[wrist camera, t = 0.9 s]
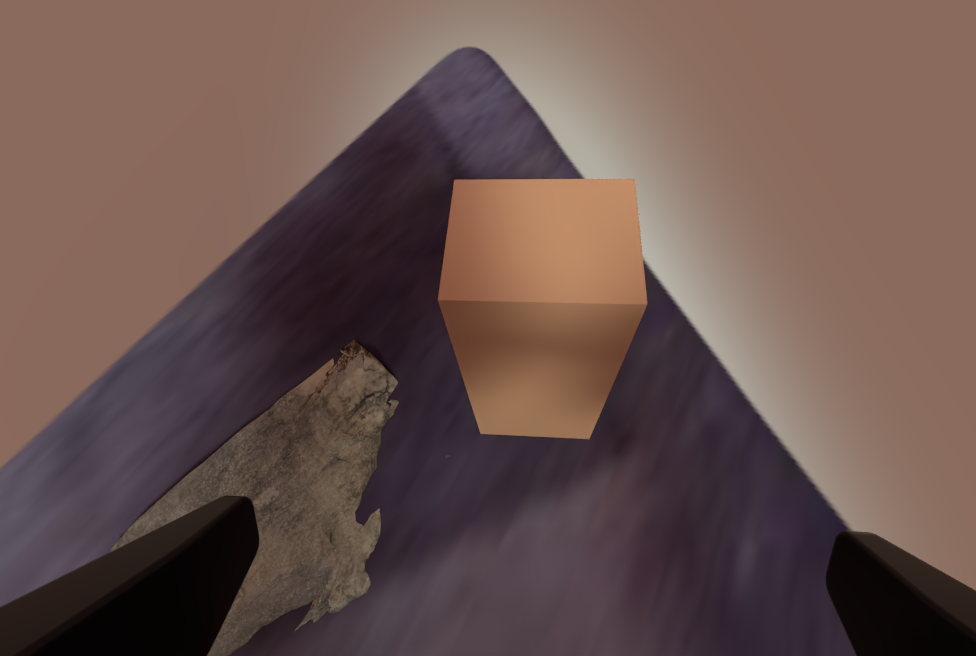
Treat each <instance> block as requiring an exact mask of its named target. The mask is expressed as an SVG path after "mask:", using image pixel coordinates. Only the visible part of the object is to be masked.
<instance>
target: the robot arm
mask: <svg viewBox="0 0 976 656" xmlns="http://www.w3.org/2000/svg"><path fill="white" fill-rule="evenodd" d="M259 540H260V538H259V531H258V526H257V521H256V516H255V510H254V505H253V502H252V500H251V499H250V498H248V497H246V496H231V495H226V496H222V497H220V498H218V499H216V500H214V501H212V502H210V503H208V504H206V505H204V506H202V507H200V508H198V509H196V510H194V511H192V512H190V513H188V514H186V515H184V516H182V517H180V518H178V519H176V520H174V521H172V522H170V523H168V524H166V525H164V526H162V527H160V528H158V529H156V530H154V531H152V532H150V533H148V534H146V535H144V536H141V537H139V538H137V539H135V540H133V541H131V542H129V543H127V544H125V545H123V546H121V547H119V548H117V549H115V550H113V551H111V552H109V553H107V554H105V555H103V556H101V557H99V558H97V559H95V560H93V561H91V562H89V563H87V564H85V565H83V566H81V567H79V568H77V569H75V570H73V571H71V572H69V573H67V574H65V575H63V576H61V577H59V578H57V579H55V580H53V581H51V582H49V583H47V584H45V585H43V586H41V587H39V588H37V589H35V590H33V591H31V592H29V593H27V594H25V595H23V596H21V597H19V598H17V599H15V600H13V601H11V602H9V603H7V604H5V605H3V606H1V607H0V656H207V655H208V653H209V651H210V650H211V648H212V646H213V644H214V642H215V640H216V638H217V636H218V634H219V632H220V630H221V628H222V626H223V623H224V621H225V619H226V617H227V615H228V613H229V611H230V609H231V607H232V605H233V602H234V600H235V598H236V596H237V594H238V592H239V590H240V588H241V586H242V584H243V581H244V579H245V577H246V575H247V573H248V571H249V569H250V567H251V565H252V563H253V560H254V558H255V556H256V554H257V551H258V548H259ZM826 586H827V590H828V593H829V596H830V598H831V600H832V602H833V604H834V607H835V609H836V611H837V613H838V615H839V618H840V620H841V622H842V624H843V627H844V629H845V631H846V633H847V635H848V638H849V640H850V642H851V644H852V646H853V649H854V651H855V653H856V655H857V656H976V591H975V590H973V589H972V588H970V587H968V586H966V585H965V584H963V583H961V582H959V581H958V580H956V579H954V578H952V577H951V576H949V575H947V574H945V573H943V572H942V571H940V570H938V569H936V568H935V567H933V566H931V565H929V564H927V563H926V562H924V561H922V560H920V559H918V558H917V557H915V556H913V555H911V554H910V553H908V552H906V551H904V550H903V549H901V548H899V547H897V546H895V545H894V544H892V543H890V542H888V541H887V540H885V539H883V538H881V537H880V536H878V535H876V534H873V533H869V532H854V531H843V532H840V533H839V534H838V535H837V536H836V539H835V542H834V546H833V549H832V553H831V557H830V561H829V565H828V568H827V572H826Z"/></svg>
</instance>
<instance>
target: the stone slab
mask: <svg viewBox="0 0 976 656" xmlns="http://www.w3.org/2000/svg"><path fill="white" fill-rule="evenodd" d="M349 346H350V349H348V350H347V351H346V350H345V349H346V347H349ZM346 347H344V348H343V349H341V350H340V351H341V353H343V355H342V356H341V357H340V358H339V360H338V362H337V364H336V365H335V366H334V367H333V365H334V360H333V359H331V360H330V361H329V362H327V363H326V364H325V365H324V366H323V367H321V368H320V369H319V370H318V371H316V372H315V373H314V374H313V375H311V376H310V377H309V378H308V379H306V380H305V381H304V382H302V383H301V384H299V385H298V386H296V387H295V388H293V389H292V390H291V391H289V392H288V393H286V394H285V395H284V396H283V397H282V398H280V399H279V400H278V401H277V402H276V403H275V404H274V405H273V406H272V407H271V408H270V409H269V410H267V411H266V412H265V413H263V414H262V415H261V416H260V417H258V418H257V419H255V420H254V421H252V422H251V423H250V424H248V425H247V426H246V427H244V428H243V429H242V430H241V431H239V432H238V433H237V434H236V435H234V436H233V437H232V438H231V439H230V440H229V441H227V442H226V443H225V444H224V445H223V446H222V447H221V448H219V449H218V450H217V451H216V452H215V453H214V454H212V455H211V456H210V457H209V458H208V459H207V460H205V461H204V462H203V463H202V464H201V465H199V466H198V467H197V468H196V469H194V470H193V471H192V472H190V473H189V474H188V475H187V476H185V477H184V478H183V479H182V480H181V481H180V482H179V483H178V484H176V485H175V486H174V487H173V488H172V489H171V490H170V491H169V492H167V493H166V494H165V495H164V496H163V497H162V498H161V499H160V500H159V501H158V502H156V503H155V504H154V505H153V506H152V507H151V508H150V509H149V510H148V511H146V512H145V513H144V514H143V515H142V516H141V517H140V518H139V519H138V520H137V521H136V522H135V523H134V524H133V525H132V526H131V527H130V528H129V529H128V530H127V531H126V532H125V533H124V535H123V536H122V537H121V538H120V540H119V541H118V542H116V543H115V544H114V545H113V546H112V548H111V550H110V552H111V551H113V550H115V549H117V548H119V547H121V546H123V545H125V544H127V543H129V542H131V541H133V540H135V539H137V538H139V537H141V536H144V535H146V534H148V533H150V532H152V531H154V530H156V529H158V528H160V527H162V526H164V525H166V524H168V523H170V522H172V521H174V520H176V519H178V518H180V517H182V516H184V515H186V514H188V513H190V512H192V511H194V510H196V509H198V508H200V507H202V506H204V505H206V504H208V503H210V502H212V501H214V500H216V499H218V498H220V497H222V496H226V495H231V496H246V497H248V498H250V499H251V500H252V502H253V505H254V510H255V516H256V521H257V526H258V531H259V538H260V540H259V548H258V551H257V554H256V556H255V558H254V560H253V563H252V565H251V567H250V569H249V571H248V573H247V575H246V577H245V579H244V581H243V584H242V586H241V588H240V590H239V592H238V594H237V596H236V598H235V600H234V602H233V605H232V607H231V609H230V611H229V613H228V615H227V617H226V619H225V621H224V623H223V626H222V628H221V630H220V632H219V634H218V636H217V638H216V640H215V642H214V644H213V646H212V648H211V650H210V651H209V653H208V655H207V656H229V655H230V654H231V653H232V652H233V651H235V650H236V649H238V648H239V647H241V646H242V645H244V644H245V643H247V642H248V641H249V640H250V638H251V637H252V636H253V635H254V634H255V633H256V632H257V631H258V630H259V629H260V628H261V627H262V626H265V625H268V624H269V623H271V622H273V621H274V620H275V619H277V618H278V617H280V616H282V615H283V614H285V613H287V612H289V611H291V610H294V609H297V608H299V607H301V606H304V605H307V604H309V603H310V602H311V601H313V603H312V605H311V608H310V610H309V611H308V613H307V614H306V616H305V617H304V619H303V620H302V622H301V623H300V624H299V625H298V627H297V628H296V629H295V631H296V630H297V629H298V628H299V627H300V626H302V625H304V624H306V623H307V622H308V621H309V619H311V620H313V623H314V622H316V621H317V620H318V619H320V618H321V617H322V616H323V615H324V614H325V613H326V611H328V612H329V613H330V614H333V613H336V612H338V611H339V610H341V609H342V608H343V607H345V606H346V605H347V604H348V603H349V602H350V601H351V600H353V599H356V598H358V597H359V596H361V595H363V594H364V593H366V592H367V590H368V588H369V586H370V579H369V576H368V574H367V573H366V572H365V570H364V568H365V562H366V560H367V559H368V558H369V555H370V553H371V552H373V551H374V548H375V545H376V543H377V541H378V538H379V535H380V528H381V520H380V519H381V515H380V512H379V510H380V509H378V510H377V511H375V512H374V513H373V514H372V515H371V516H370V517H369V519H368V521H367V522H366V524H365V525H364V526H363V525H361V524H358V523H357V522H355V520H356V517H355V511H356V509H357V508H358V506H359V504H360V501H361V496H362V492H363V491H364V490H365V488H366V485H367V483H368V481H369V478H370V476H371V475H372V473H373V472H374V470H375V469H376V468H377V465H378V464H377V462H376V461H377V452H378V449H379V446H380V443H381V430H382V428H383V426H384V425H385V423H386V421H387V419H389V418H390V417H391V416H392V415H393V414H394V412H395V410H396V408H397V405H398V403H399V402H398V401H396V400H393V399H392V400H391V401H389V402H390V403H391V404H392V405H391V406H390V407H389V406H388V405H387V403H385V402H386V401H387V399H388V397H389V396H390V394H392V392H393V390H394V388H395V387H396V385H397V384H398V381H397V380H396V379H395V378H394V376H393V375H392V374H390V373H389V371H387V370H386V369H385V368H384V367H383V365H382V364H381V363H380V362H379V361H378V359H377V358H375V357H374V356H373V355H372V354H371V353H370V352H369V351H367V350H366V349H365V348H363V347H362V346H361V345H360V344H358V343H357V342H356V341H355V340H354V339H353V340H352V341H351V342H350V343H349V344H348V345H347V346H346ZM351 351H352V352H351ZM332 367H333V368H332ZM331 368H332V369H331ZM330 369H331V370H330ZM329 370H330V371H329ZM328 371H329V372H328ZM327 372H328V373H329V376H326V373H327ZM446 457H451V456H447V455H446ZM295 631H294V632H295Z"/></svg>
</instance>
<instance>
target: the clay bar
mask: <svg viewBox="0 0 976 656" xmlns="http://www.w3.org/2000/svg"><path fill="white" fill-rule="evenodd" d="M438 302H439V305H440V308H441V312H442V315H443V318H444V321H445V324H446V327H447V330H448V333H449V337H450V340H451V343H452V346H453V349H454V352H455V355H456V358H457V362H458V365H459V368H460V371H461V374H462V377H463V380H464V383H465V387H466V390H467V393H468V396H469V399H470V402H471V405H472V408H473V412H474V415H475V418H476V421H477V424H478V427H479V430H480V433H481V434H497V435H518V436H538V437H559V438H580V439H590V436H591V434H592V432H593V429H594V427H595V425H596V422H597V420H598V418H599V415H600V413H601V411H602V408H603V406H604V404H605V401H606V399H607V397H608V395H609V392H610V390H611V388H612V385H613V383H614V381H615V378H616V376H617V374H618V371H619V369H620V367H621V364H622V362H623V360H624V357H625V355H626V353H627V350H628V348H629V346H630V344H631V341H632V339H633V337H634V334H635V332H636V330H637V327H638V325H639V323H640V320H641V318H642V316H643V313H644V311H645V309H646V306H647V296H646V286H645V276H644V266H643V256H642V246H641V237H640V227H639V217H638V207H637V197H636V188H635V179H493V180H454V186H453V194H452V201H451V208H450V215H449V223H448V230H447V237H446V244H445V252H444V259H443V266H442V273H441V281H440V288H439V295H438Z"/></svg>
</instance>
